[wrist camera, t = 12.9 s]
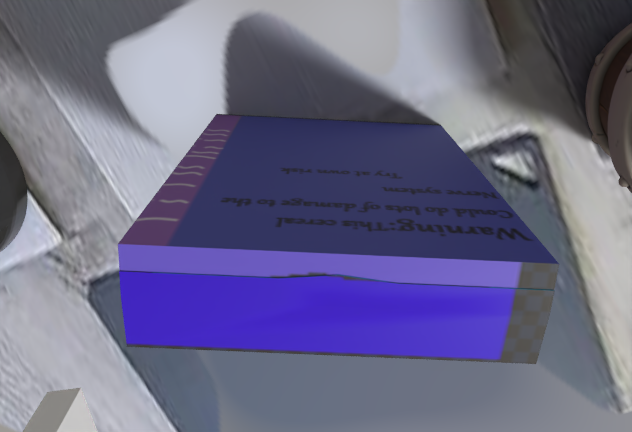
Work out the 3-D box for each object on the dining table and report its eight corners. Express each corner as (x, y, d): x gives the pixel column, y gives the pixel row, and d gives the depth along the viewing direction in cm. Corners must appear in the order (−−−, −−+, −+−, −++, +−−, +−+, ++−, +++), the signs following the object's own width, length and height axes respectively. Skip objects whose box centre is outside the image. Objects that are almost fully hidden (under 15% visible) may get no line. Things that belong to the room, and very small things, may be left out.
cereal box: (217, 172, 46) (125, 349, 24) (216, 114, 45) (116, 246, 22) (432, 183, 47) (537, 366, 24) (440, 125, 45) (561, 266, 23)
